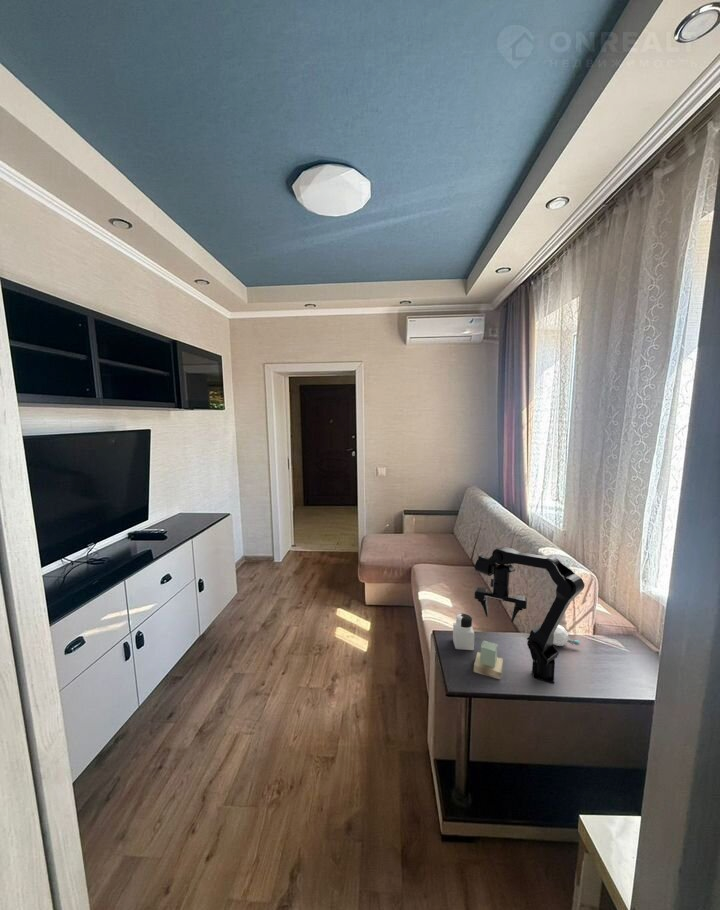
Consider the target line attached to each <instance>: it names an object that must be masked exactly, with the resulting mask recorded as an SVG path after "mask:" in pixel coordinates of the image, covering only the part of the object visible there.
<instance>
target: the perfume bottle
mask: <svg viewBox="0 0 720 910" xmlns="http://www.w3.org/2000/svg"><path fill="white" fill-rule="evenodd" d="M567 643H569V644H572V645H574V646H580V641H579V640H577V639H576V640H574V639H570V638H569V633H568V631H567V630H566V628H565V627H564V626H563V625H561V624H558V626H557V628H556V630H555V632H554V641H553V645H554V646H556V647H557V646H559V647H563V646H564V645H566V644H567Z"/></svg>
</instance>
